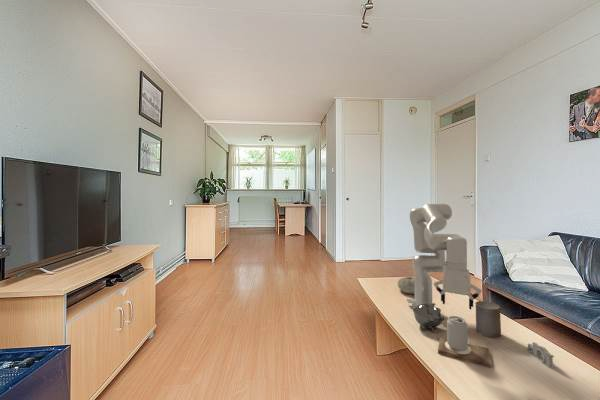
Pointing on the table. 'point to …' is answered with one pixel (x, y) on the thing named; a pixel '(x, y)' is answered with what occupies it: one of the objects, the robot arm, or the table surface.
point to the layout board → (466, 353)
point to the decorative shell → (407, 285)
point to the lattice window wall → (538, 352)
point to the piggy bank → (428, 315)
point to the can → (457, 333)
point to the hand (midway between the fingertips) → (456, 305)
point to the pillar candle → (488, 319)
